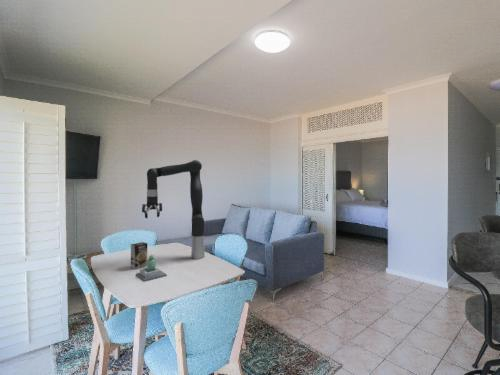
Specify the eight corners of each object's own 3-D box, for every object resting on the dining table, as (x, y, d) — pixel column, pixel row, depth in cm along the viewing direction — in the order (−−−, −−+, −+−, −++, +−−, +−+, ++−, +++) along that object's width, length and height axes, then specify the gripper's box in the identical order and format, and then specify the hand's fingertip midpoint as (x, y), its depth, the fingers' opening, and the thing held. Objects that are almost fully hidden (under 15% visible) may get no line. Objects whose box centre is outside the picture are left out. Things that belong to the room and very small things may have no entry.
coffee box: (135, 269, 178) (135, 245, 177) (130, 267, 182) (130, 244, 181) (147, 266, 185) (147, 243, 185) (142, 264, 189) (142, 241, 188)
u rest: (157, 269, 178) (157, 264, 178) (166, 275, 168) (166, 269, 167) (135, 274, 168) (135, 268, 168) (144, 281, 158) (144, 274, 158)
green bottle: (153, 271, 172) (153, 254, 171) (156, 273, 168) (156, 255, 168) (146, 273, 168) (146, 255, 168) (149, 275, 165) (149, 257, 164)
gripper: (159, 195, 202) (159, 216, 203) (140, 195, 193) (140, 217, 193) (163, 195, 197) (163, 217, 198) (144, 196, 187) (144, 219, 188)
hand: (152, 217), depth 195 cm, fingers open, 8 cm apart
